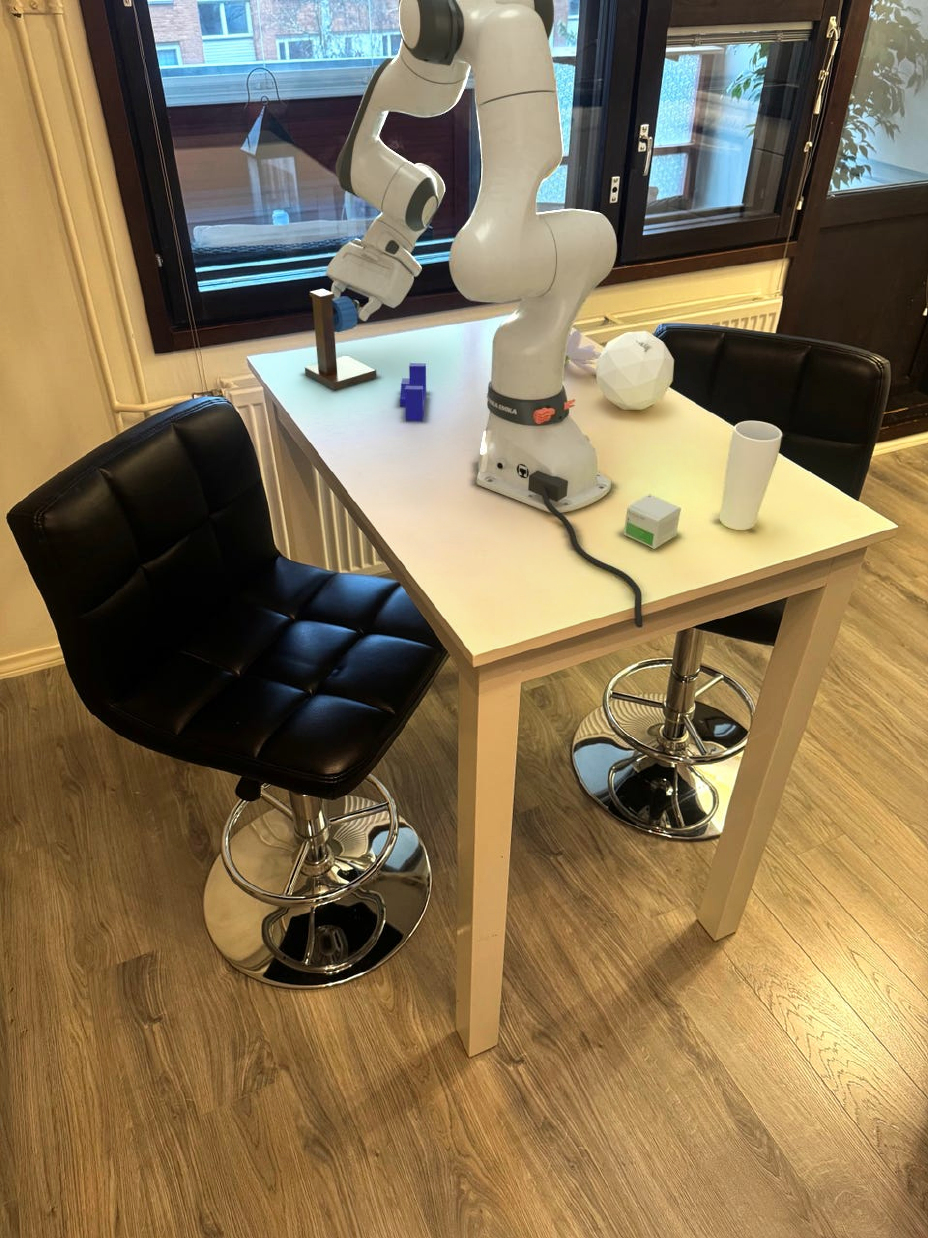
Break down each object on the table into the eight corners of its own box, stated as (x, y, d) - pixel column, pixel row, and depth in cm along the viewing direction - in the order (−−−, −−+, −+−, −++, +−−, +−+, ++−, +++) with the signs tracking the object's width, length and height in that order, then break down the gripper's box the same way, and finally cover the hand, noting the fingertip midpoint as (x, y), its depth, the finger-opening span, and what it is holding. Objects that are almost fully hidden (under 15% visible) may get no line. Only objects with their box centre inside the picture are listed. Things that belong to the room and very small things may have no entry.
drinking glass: (726, 506, 139) (746, 415, 130) (767, 521, 136) (791, 429, 127) (705, 523, 135) (725, 431, 126) (747, 539, 131) (770, 445, 122)
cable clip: (402, 393, 171) (401, 362, 167) (426, 393, 171) (426, 363, 167) (397, 420, 161) (396, 388, 158) (422, 421, 161) (422, 389, 158)
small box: (622, 535, 132) (626, 505, 129) (645, 521, 135) (650, 492, 132) (654, 550, 129) (659, 521, 126) (677, 536, 132) (682, 506, 129)
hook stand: (347, 362, 183) (342, 277, 172) (377, 377, 177) (373, 290, 167) (305, 374, 177) (297, 287, 167) (334, 390, 171) (327, 301, 161)
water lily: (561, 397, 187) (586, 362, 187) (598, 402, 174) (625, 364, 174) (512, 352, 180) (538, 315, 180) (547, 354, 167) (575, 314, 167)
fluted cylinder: (340, 323, 175) (338, 292, 171) (358, 332, 171) (356, 300, 168) (325, 327, 173) (323, 295, 169) (343, 336, 169) (341, 304, 166)
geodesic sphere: (700, 392, 159) (684, 311, 158) (629, 403, 155) (612, 320, 154) (657, 413, 173) (642, 339, 173) (591, 424, 169) (575, 348, 168)
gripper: (342, 226, 174) (304, 288, 174) (408, 250, 161) (366, 316, 162) (362, 247, 179) (325, 306, 179) (427, 271, 166) (387, 335, 167)
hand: (345, 311), depth 171 cm, fingers open, 8 cm apart
